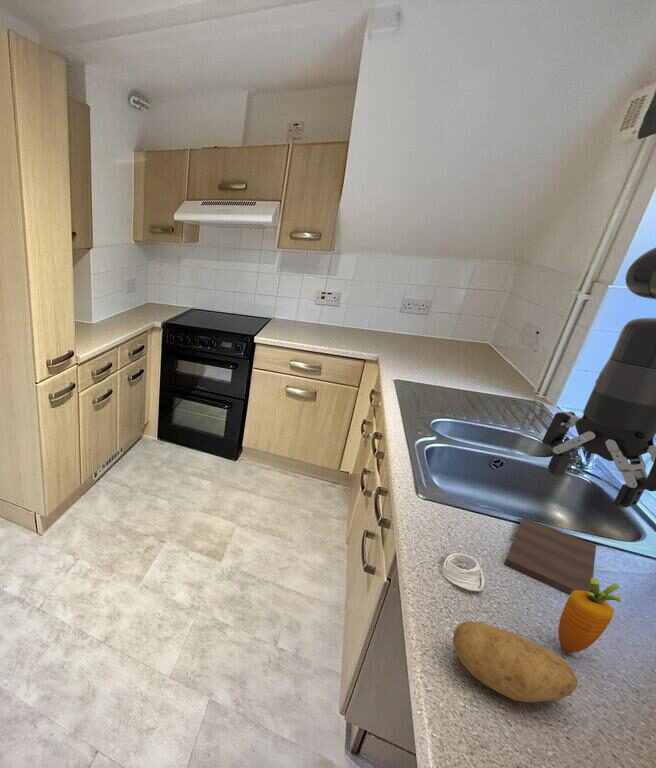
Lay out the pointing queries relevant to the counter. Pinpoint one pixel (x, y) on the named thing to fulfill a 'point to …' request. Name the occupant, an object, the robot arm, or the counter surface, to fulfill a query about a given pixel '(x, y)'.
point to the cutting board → (552, 556)
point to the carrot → (585, 617)
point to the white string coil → (463, 572)
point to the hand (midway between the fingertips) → (586, 489)
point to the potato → (512, 663)
